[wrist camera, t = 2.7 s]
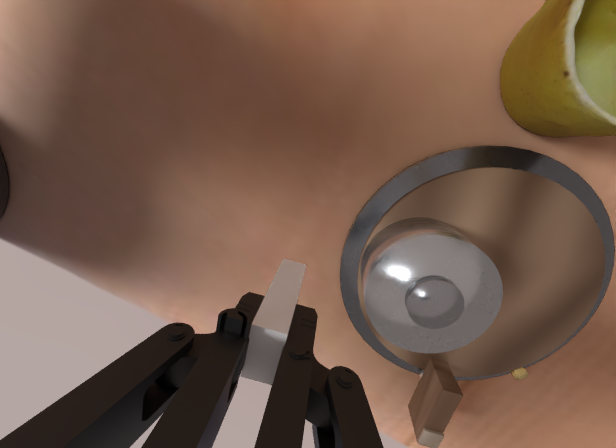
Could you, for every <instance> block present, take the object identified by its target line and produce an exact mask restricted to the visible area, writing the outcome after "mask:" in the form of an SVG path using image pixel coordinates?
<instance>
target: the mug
mask: <svg viewBox="0 0 616 448" xmlns="http://www.w3.org/2000/svg"><path fill="white" fill-rule="evenodd" d="M500 91H501V97H502V100H503V103H504V106H505V108H506V110H507V112H508V114H509V115H510V116H511V117H512V119H513V120H514V121H515V122H516V123H517V124H519V125H520V126H521V127H523V128H525V129H527V130H529V131H531V132H533V133H536V134H539V135H544V136H549V137H568V136H610V135H615V136H616V0H546V2H545V3H544V5H543V6H542V7H541V9H540V10H539V11H538V12H537V13H536V14H535V15H534V16H533V17H532V18H531V19H530V20H529V21H528V22H527V23H526V24H525V25H524V27H523V28H522V29H521V30H520V32H519V33H518V34H517V36H516V37H515V38H514V40H513V41H512V43H511V45H510V46H509V48H508V49H507V52H506V54H505V56H504V59H503V62H502V66H501V71H500Z"/></svg>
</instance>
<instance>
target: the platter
mask: <svg viewBox="0 0 616 448" xmlns="http://www.w3.org/2000/svg"><path fill="white" fill-rule="evenodd" d="M416 217H424V218H432V219H436V220H439V221H443V222H445V223H447V224H449V225H450V226H452V227H453V228H455V229H456V230H457V231H459V232H460V233H461V234H462V235H463V236H465V237H466V238H467V239H468V240H469V241H471V242H472V243H473V244H474V245H475V246H477V247H478V248H479V249H480V250H481V251H483V252H484V253H485V254H486V255H487V256H488V257H489V258H490V259H491V260H492V262H493V263H494V264H495V266H496V268H497V269H498V271H499V274H500V277H501V280H502V285H503V297H502V303H501V307H500V310H499V312H498V314H497V316H496V318H495V320H494V321H493V323H492V324H491V325H490V326H489V328H488V329H487V330H486V331H485V332H484V333H483V334H482V335H481V336H479V337H478V338H477V339H475V340H474V341H472V342H470V343H469V344H467V345H465V346H462V347H460V348H457V349H454V350H451V351H447V352H442V353H417V352H412V351H408V350H405V349H402V348H400V347H397V346H395V345H393V344H392V343H390V342H389V341H387V340H386V339H385V338H383V337H382V336H381V335H380V334H379V333H378V332H377V331H376V329H375V328H374V327H373V325H372V323H371V322H370V320H369V317H368V315H367V312H366V307H365V301H364V294H363V288H362V282H361V275H360V265H361V259H362V256H363V253H364V251H365V249H366V247H367V245H368V244H369V242H370V241H371V240H372V238H373V237H374V236H375V235H376V234H377V233H378V232H380V231H381V230H382V229H384V228H385V227H387V226H388V225H390V224H392V223H395V222H397V221H400V220H403V219H408V218H416ZM604 273H605V251H604V243H603V240H602V236H601V233H600V230H599V228H598V226H597V224H596V222H595V220H594V218H593V216H592V215H591V213H590V212H589V211H588V209H587V208H586V206H585V205H584V204H583V203H582V202H581V201H580V200H579V199H578V198H577V197H576V196H575V195H574V194H573V193H571V192H570V191H568V190H567V189H565V188H564V187H563V186H561V185H560V184H558V183H556V182H554V181H551V180H549V179H547V178H545V177H543V176H539V175H536V174H533V173H530V172H526V171H522V170H516V169H510V168H504V167H479V168H469V169H464V170H459V171H454V172H451V173H448V174H445V175H442V176H439V177H436V178H434V179H431V180H429V181H427V182H425V183H423V184H421V185H419V186H418V187H416V188H414V189H413V190H411V191H410V192H408V193H406V194H405V195H404V196H403V197H401V198H400V199H399V200H398V201H396V202H395V203H394V204H393V205H392V206H391V207H390V208H389V209H388V210H387V211H386V212H385V213H384V214H383V215H382V217H381V218H380V219H379V221H378V222H377V223H376V225H375V226H374V227H373V229H372V231H371V233H370V235H369V236H368V238H367V240H366V243H365V245H364V248H363V250H362V253H361V257H360V261H359V265H358V275H357V283H358V295H359V300H360V305H361V309H362V312H363V314H364V317H365V320H366V321H367V323H368V325H369V327H370V329H371V330H372V332H373V333H374V335H375V336H376V337H377V339H378V340H379V341H380V342H381V343H382V344H383V345H384V346H385V347H386V348H387V349H388V350H389V351H391V352H392V353H393V354H394V355H396V356H397V357H399V358H400V359H402V360H404V361H405V362H407V363H409V364H411V365H413V366H416V367H418V368H420V369H423V370H424V372H423V375H422V377H421V379H420V381H419V383H418V385H417V388H416V390H415V392H414V394H413V396H412V398H411V401H410V403H409V405H408V407H409V411H410V415H411V419H412V423H413V427H414V431H415V435H416V439H417V442H418V444H420V445H424V446H428V447H431V448H438V446H439V445H440V443H441V441H442V439H443V437H444V434H443V432H444V430H445V428H446V426H447V424H448V423H449V421H450V419H451V417H452V415H453V413H454V411H455V409H456V408H457V406H458V404H459V402H460V400H461V398H462V396H463V394H462V392H461V390H460V388H459V386H458V384H457V381H456V379H455V377H454V376H456V377H479V376H489V375H494V374H499V373H504V372H507V371H511V370H514V369H518V368H520V367H523V366H525V365H527V364H530V363H532V362H534V361H536V360H538V359H540V358H542V357H543V356H545V355H547V354H548V353H550V352H551V351H553V350H554V349H556V348H557V347H559V346H560V345H561V344H562V343H563V342H565V341H566V340H567V339H568V338H569V337H570V336H571V335H572V334H573V333H574V332H575V331H576V330H577V329H578V328H579V327H580V326H581V324H582V323H583V321H584V320H585V319H586V317H587V316H588V315H589V313H590V311H591V309H592V308H593V306H594V304H595V302H596V300H597V297H598V295H599V292H600V290H601V287H602V282H603V278H604Z"/></svg>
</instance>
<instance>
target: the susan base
mask: <svg viewBox="0 0 616 448" xmlns="http://www.w3.org/2000/svg"><path fill="white" fill-rule="evenodd" d="M479 167H504V168H510V169H516V170H522V171H526V172H530V173H533V174H536V175H539V176H543V177H545V178H547V179H549V180H551V181H554V182H556V183H558V184H560V185H561V186H563V187H564V188H565V189H567V190H568V191H570V192H571V193H573V194H574V195H575V196H576V197H577V198H578V199H579V200H580V201H581V202H582V203H583V204H584V205H585V206H586V208H587V209H588V211H589V212H590V213H591V215H592V216H593V218H594V220H595V222H596V224H597V226H598V228H599V230H600V233H601V236H602V240H603V243H604V251H605V273H604V278H603V282H602V287H601V290H600V292H599V295H598V297H597V300H596V302H595V304H594V306H593V308H592V309H591V311H590V313H589V315H588V316H587V317H586V319H585V320H584V321H583V323H582V324H581V326H580V327H579V328H578V329H577V330H576V331H575V332H574V333H573V334H572V335H571V336H570V337H569V338H568V339H567V340H566V341H565V342H563V343H562V344H561V345H560V346H559V347H557V348H556V349H554V350H553V351H551V352H550V353H548V354H547V355H545V356H543V357H542V358H540V359H538V360H536V361H534V362H532V363H530V364H527V365H525V366H523V367H520V368H518V369H514V370H511V371H507V372H504V373H499V374H494V375H489V376H479V377H456V376H454V377H455V379H456V380H477V379H487V378H492V377H497V376H502V375H505V374H509V373H511V374H512V375H513V376H514V378H515V379H517V380H523V379H525V378H526V377H527V376H528V373H527V371H526V370H525V368H526V367H528V366H530V365H533V364H535V363H537V362H538V361H540V360H542V359H544V358H546V357H548V356H549V355H551V354H552V353H554V352H555V351H557V350H558V349H560V348H561V347H562V346H564V345H565V344H566V343H567V342H568V341H570V340H571V339H572V338H573V337H574V336H575V335H576V334H577V333H578V332H579V331H580V330H581V329H582V328H583V327H584V326H585V325H586V323H587V322H588V321H589V319H590V318H591V317H592V315H593V314H594V313H595V311H596V310H597V308H598V306H599V304H600V303H601V301H602V299H603V297H604V295H605V293H606V290H607V287H608V285H609V282H610V279H611V275H612V270H613V266H614V253H615V246H614V236H613V230H612V226H611V223H610V219H609V216H608V214H607V212H606V210H605V208H604V205H603V203H602V201H601V200H600V199H599V197H598V196H597V194H596V193H595V192H594V190H593V189H592V187H591V186H590V185H589V184H588V183H587V182H586V181H585V180H584V179H583V178H582V177H580V176H579V175H578V174H577V173H575V172H574V171H573V170H571V169H570V168H568V167H567V166H566V165H564V164H562V163H560V162H558V161H556V160H554V159H552V158H550V157H548V156H545V155H542V154H539V153H536V152H533V151H530V150H525V149H519V148H513V147H506V146H475V147H464V148H460V149H455V150H451V151H446V152H443V153H440V154H437V155H434V156H431V157H428V158H426V159H424V160H422V161H420V162H418V163H416V164H414V165H412V166H410V167H408V168H406V169H405V170H403V171H402V172H400V173H399V174H397V175H396V176H394V177H393V178H392V179H390V180H389V181H388V182H387V183H386V184H384V185H383V186H382V187H381V188H380V189H379V190H378V191H377V192H376V193H375V194H374V195H373V196H372V197H371V198H370V199H369V200H368V201H367V203H366V204H365V205H364V207H363V208H362V210H361V211H360V212H359V214H358V215H357V217H356V219H355V221H354V223H353V225H352V226H351V228H350V230H349V233H348V236H347V238H346V241H345V244H344V248H343V253H342V257H341V267H340V282H341V292H342V297H343V301H344V305H345V308H346V310H347V313H348V315H349V318H350V319H351V321H352V323H353V325H354V327H355V328H356V330H357V331H358V332H359V334H360V335H361V336H362V338H363V339H364V340H365V341H366V342H367V343H368V344H369V345H370V346H371V347H372V348H373V349H374V350H375V351H376V352H378V353H379V354H380V355H382V356H383V357H384V358H386V359H387V360H389V361H391V362H392V363H394V364H396V365H398V366H400V367H402V368H404V369H406V370H409V371H411V372H414V373H417V374H419V375H420V378H421V377H422V375H423V372H424V370H423V369H420V368H418V367H416V366H413V365H411V364H409V363H407V362H405V361H404V360H402V359H400V358H399V357H397V356H396V355H394V354H393V353H392V352H391V351H389V350H388V349H387V348H386V347H385V346H384V345H383V344H382V343H381V342H380V341H379V340H378V339H377V337H376V336H375V335H374V333H373V332H372V330H371V329H370V327H369V325H368V323H367V321H366V320H365V317H364V314H363V312H362V309H361V305H360V300H359V295H358V283H357V275H358V265H359V261H360V257H361V253H362V250H363V248H364V245H365V243H366V240H367V238H368V236H369V235H370V233H371V231H372V229H373V227H374V226H375V225H376V223H377V222H378V221H379V219H380V218H381V217H382V215H383V214H384V213H385V212H386V211H387V210H388V209H389V208H390V207H391V206H392V205H393V204H394V203H395V202H396V201H398V200H399V199H400V198H401V197H403V196H404V195H405V194H406V193H408V192H410V191H411V190H413V189H414V188H416V187H418V186H419V185H421V184H423V183H425V182H427V181H429V180H431V179H434V178H436V177H439V176H442V175H445V174H448V173H451V172H454V171H459V170H464V169H469V168H479Z"/></svg>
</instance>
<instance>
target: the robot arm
mask: <svg viewBox="0 0 616 448" xmlns="http://www.w3.org/2000/svg"><path fill="white" fill-rule="evenodd" d="M7 199H8V175H7V170H6V166H5V162H4V159H3V156H2V153H1V151H0V217H1V216H2V214H3V212H4V209H5V207H6V203H7ZM306 266H307V265H306V264H303V263H299V262H295V261H291V260H288V259H284V258H283V260H282V262H281V264H280V266H279V268H278V270H277V272H276V274H275V276H274V278H273V281H272V283H271V285H270V287H269V289H268V291H267V293H266V295H265V296H262V295H258V294H255V293H251V292H249V293H247V294H245V295H244V296H242V298H241V299H240V301H239V303H238V304H237V306H236V308H232V309H226V310H224V311H222V312H221V313H220V314H219V316H218V322H217V328H216V332H214V333H210V334H194V333H195V332H194V329H193V328H192V327H191V326H190V325H188V324H185V323H172V324H169V325H167V326H165V327H163V328H161V329H160V330H159V331H157V332H156V333H154V334H153V335H151V336H150V337H148V338H147V339H146V340H144V341H143V342H141V343H140V344H138V345H137V346H135V347H134V348H133V349H131V350H130V351H128V352H127V353H125V354H124V355H123V356H121V357H120V358H118V359H117V360H115V361H114V362H112V363H111V364H109V365H108V366H107V367H105V368H104V369H102V370H101V371H99V372H98V373H97V374H95V375H94V376H92V377H91V378H89V379H88V380H87V381H85V382H84V383H82V384H81V385H79V386H78V387H76V388H75V389H74V390H72V391H71V392H69V393H68V394H66V395H65V396H63V397H62V398H60V399H59V400H58V401H56V402H55V403H53V404H52V405H50V406H49V407H47V408H46V409H45V410H43V411H42V412H40V413H39V414H37V415H36V416H34V417H33V418H32V419H30V420H29V421H27V422H26V423H24V424H23V425H22V426H20V427H19V428H17V429H16V430H14V431H13V432H11V433H10V434H8V435H7V436H6V437H4V438H3V439H1V440H0V448H129V447H130V446H131V445H132V444H133V443H134V442H135V441H136V440H137V439H138V438H139V437H140V436H141V435H142V434H143V433H144V432H145V431H146V430H147V429H148V428H149V427H150V426H151V425H152V424H153V423H154V422H155V421H156V420H157V419H158V418H159V416H161V415H162V413H163V412H164V413H163V415H162V416H161V418H160V419H159V421H158V422H157V424H156V426H155V427H154V429H153V430H152V432H151V433H150V435H149V436H148V438H147V440H146V441H145V443H144V444H143V446H142V447H141V448H212V446H213V443H214V441H215V438H216V436H217V434H218V431H219V429H220V426H221V424H222V422H223V419H224V417H225V414H226V412H227V410H228V407H229V404H230V402H231V400H232V398H233V395H234V393H235V390H236V388H237V384H238V379H239V376H240V374H241V376H242V377H245V378H249V379H252V380H256V381H259V382H263V383H267V384H270V385H272V388H271V391H270V395H269V398H268V402H267V405H266V409H265V412H264V416H263V419H262V423H261V426H260V430H259V433H258V437H257V440H256V444H255V447H254V448H302V440H303V433H304V425H305V419H306V420H308V421H309V422H311V423H312V424H313V425H312V429H313V436H314V443H315V448H383V445H382V442H381V439H380V436H379V433H378V430H377V427H376V424H375V421H374V418H373V415H372V412H371V409H370V406H369V404H368V401H367V398H366V395H365V392H364V389H363V386H362V383H361V380H360V379H359V377H358V375H357V374H356V373H355V372H354V371H352V370H350V369H349V368H347V367H343V366H336V367H334V368H332V369H331V370H329V369H328V368H326V367H324V366H323V365H321V364H320V363H319V362H318V361H317V360H316V358H315V357H314V354H313V346H314V339H315V331H316V323H317V317H318V316H317V313H316V311H315V309H313V308H309V307H305V306H302V305H298V304H297V301H298V297H299V293H300V289H301V285H302V281H303V277H304V273H305V270H306ZM241 371H242V373H241Z"/></svg>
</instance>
